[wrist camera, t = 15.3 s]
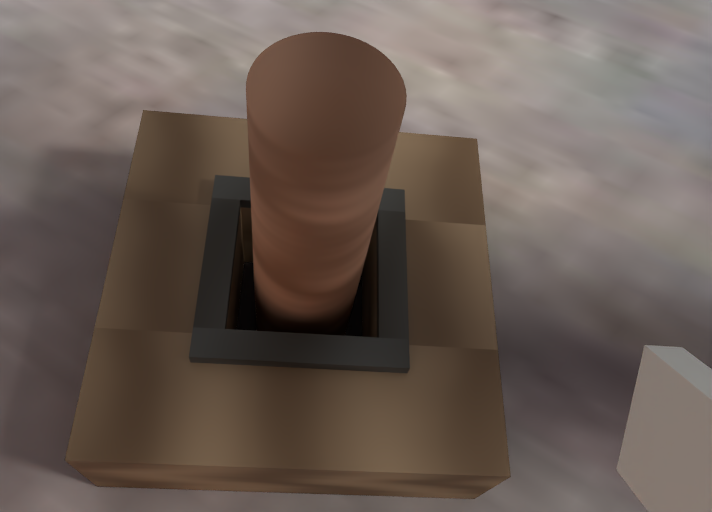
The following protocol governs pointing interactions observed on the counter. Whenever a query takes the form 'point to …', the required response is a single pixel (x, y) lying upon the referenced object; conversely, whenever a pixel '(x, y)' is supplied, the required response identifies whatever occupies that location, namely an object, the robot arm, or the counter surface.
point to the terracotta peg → (317, 174)
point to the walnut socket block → (292, 337)
